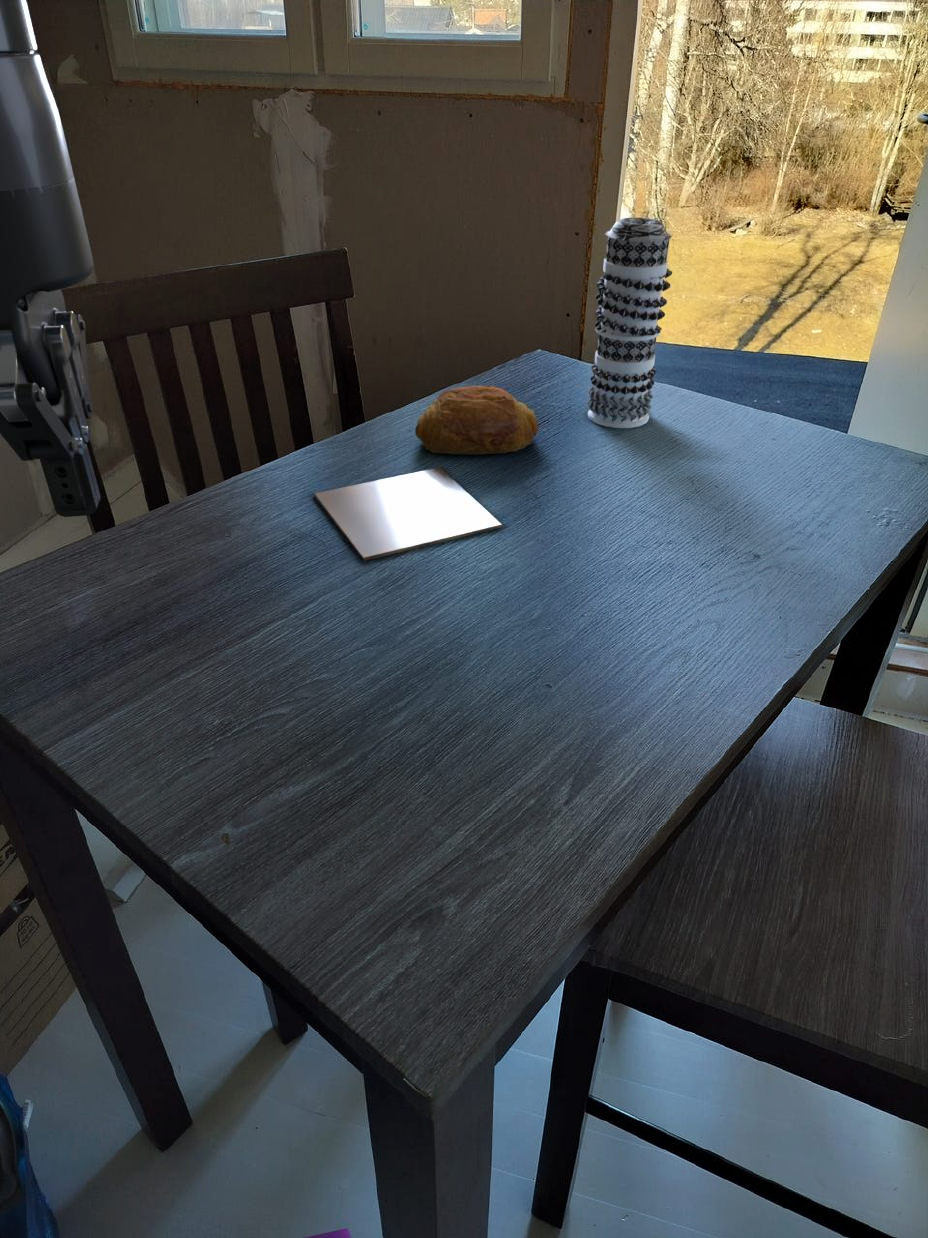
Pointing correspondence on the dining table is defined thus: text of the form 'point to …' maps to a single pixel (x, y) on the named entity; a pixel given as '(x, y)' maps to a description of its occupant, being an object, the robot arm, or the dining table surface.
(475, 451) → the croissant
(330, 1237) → the toy camera
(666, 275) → the decorative candle
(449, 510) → the square metal plate
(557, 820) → the dining table surface
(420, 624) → the dining table surface
